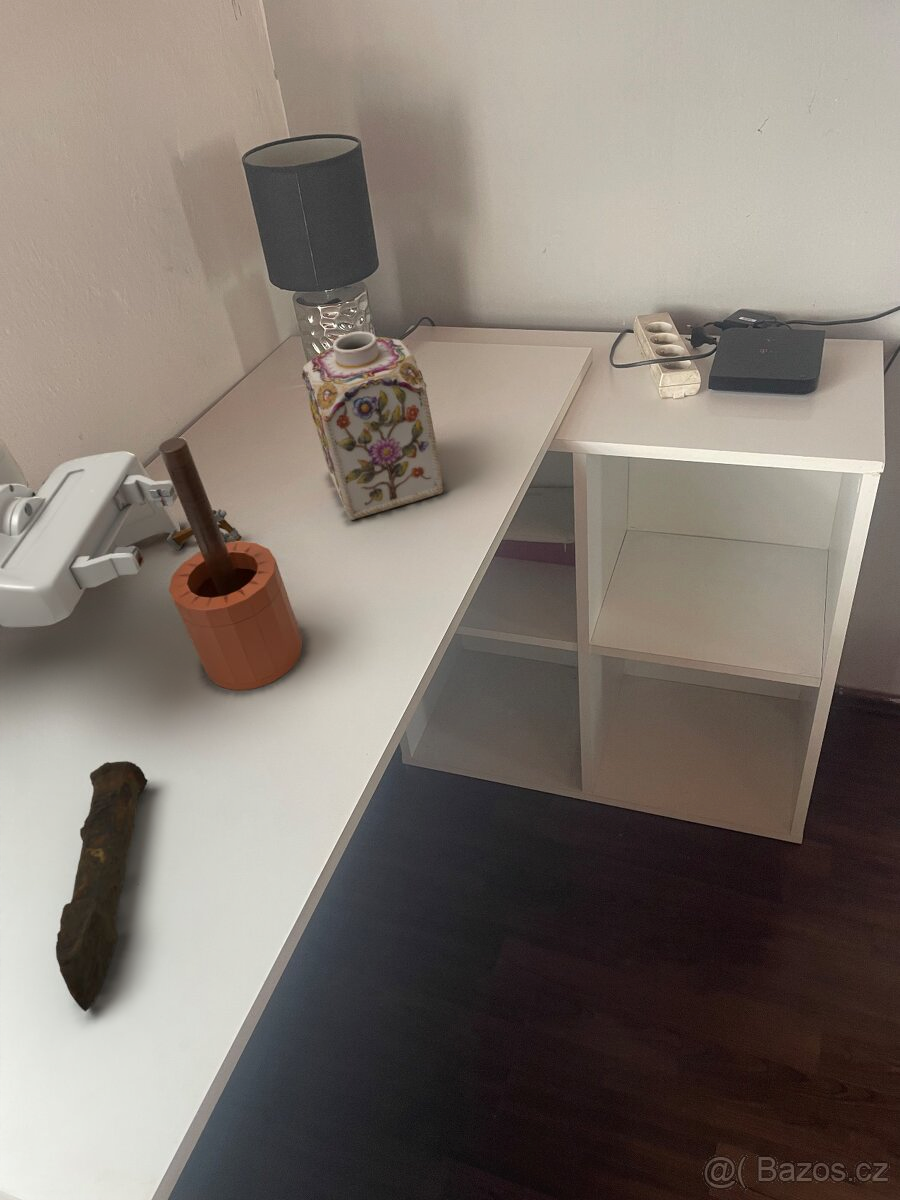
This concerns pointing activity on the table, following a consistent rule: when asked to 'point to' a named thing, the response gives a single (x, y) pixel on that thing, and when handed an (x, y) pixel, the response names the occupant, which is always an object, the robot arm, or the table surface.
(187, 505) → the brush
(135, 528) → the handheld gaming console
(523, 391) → the table surface
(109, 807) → the hand tool
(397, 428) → the decorative jar
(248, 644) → the terracotta plant pot
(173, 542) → the wooden post with brackets
